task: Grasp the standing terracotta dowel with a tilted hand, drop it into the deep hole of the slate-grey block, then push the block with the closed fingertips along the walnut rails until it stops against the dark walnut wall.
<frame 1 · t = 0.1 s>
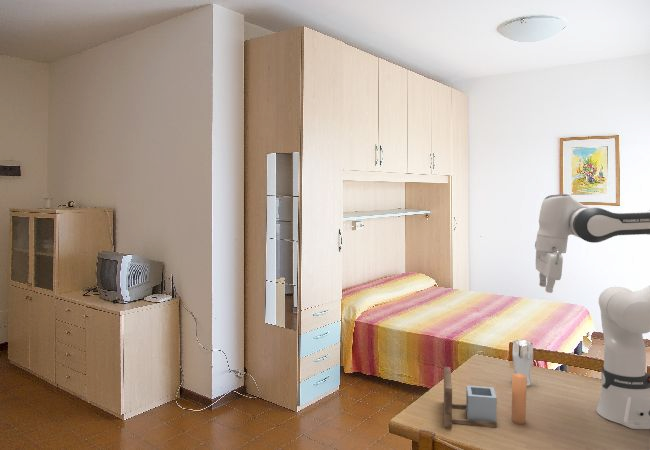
hand: (545, 289, 158), 39 cm above the table, tool pointing down, fingers open, 8 cm apart
backstop wall: (447, 414, 157), on the table
socket block: (481, 404, 155), point 4 cm above the table, slide at 0.0 cm
beer glass: (522, 383, 182), on the table
dowel: (518, 420, 153), on the table
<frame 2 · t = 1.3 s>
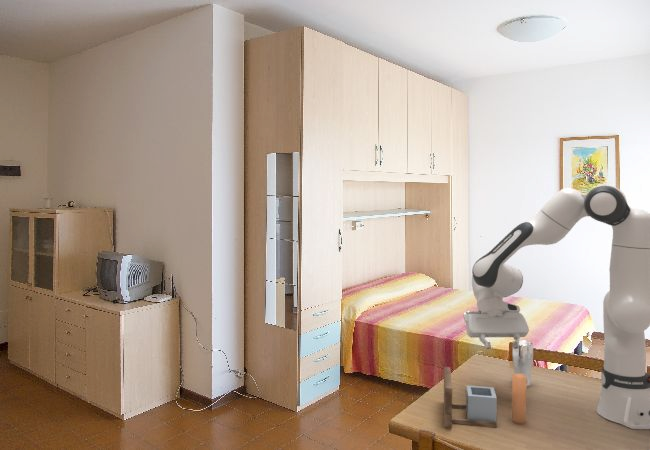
hand: (502, 348, 164), 18 cm above the table, tool tilted 45°, fingers open, 8 cm apart
nothing on the table moved.
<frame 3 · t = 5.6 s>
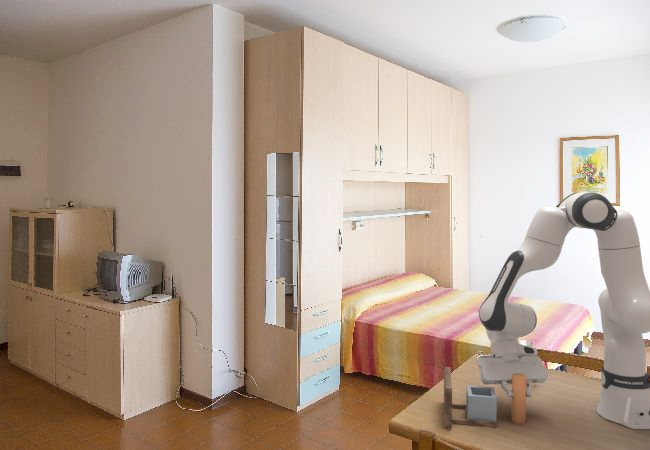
hand: (519, 396, 151), 8 cm above the table, tool tilted 45°, fingers closed on dowel, 4 cm apart
dowel: (518, 420, 153), on the table, touching gripper
everything else where it was.
when the fingers open (10 cm above the table, at t = 11.2 s): dowel drops 1 cm, resting on socket block.
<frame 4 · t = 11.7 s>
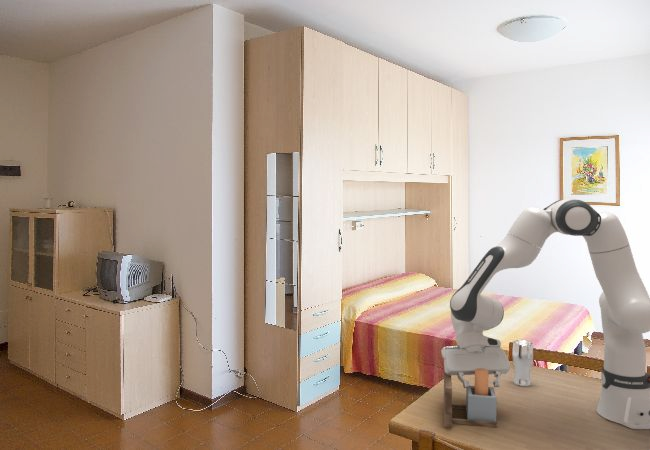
hand: (482, 387, 154), 10 cm above the table, tool tilted 45°, fingers open, 8 cm apart
socket block: (480, 404, 155), point 4 cm above the table, slide at 0.0 cm, touching dowel
dowel: (481, 414, 155), point 1 cm above the table, touching socket block
everything else where it was.
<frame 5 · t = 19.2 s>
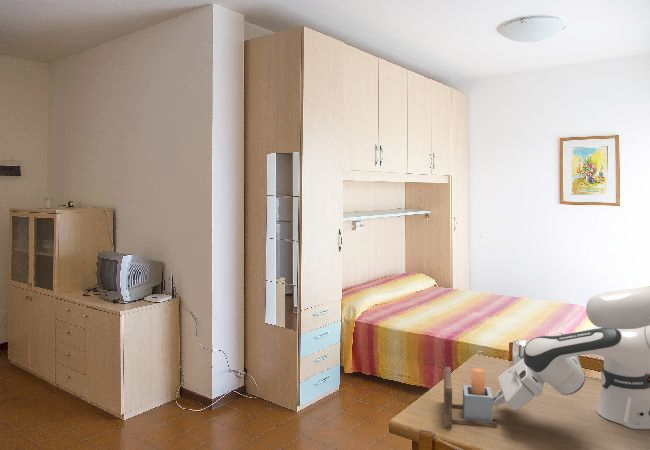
hand: (493, 403, 153), 5 cm above the table, tool tilted 45°, fingers closed
socket block: (477, 403, 155), point 4 cm above the table, slide at 1.1 cm, touching dowel, gripper
dowel: (477, 414, 155), point 1 cm above the table, touching socket block
everything else where it was.
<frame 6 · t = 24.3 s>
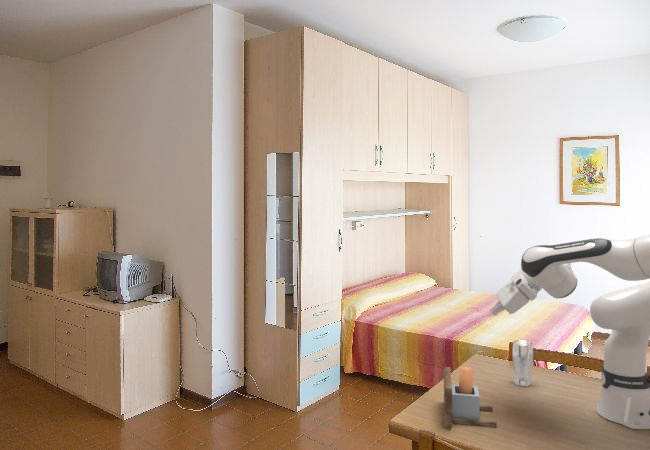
hand: (492, 313, 166), 29 cm above the table, tool tilted 45°, fingers closed
socket block: (464, 402, 156), point 4 cm above the table, slide at 4.9 cm, touching dowel
dowel: (464, 413, 156), point 1 cm above the table, touching socket block
everything else where it was.
at the end: socket block slide at 4.9 cm; dowel 0.1 cm from the socket block (horizontally); dowel tilted 3° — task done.
